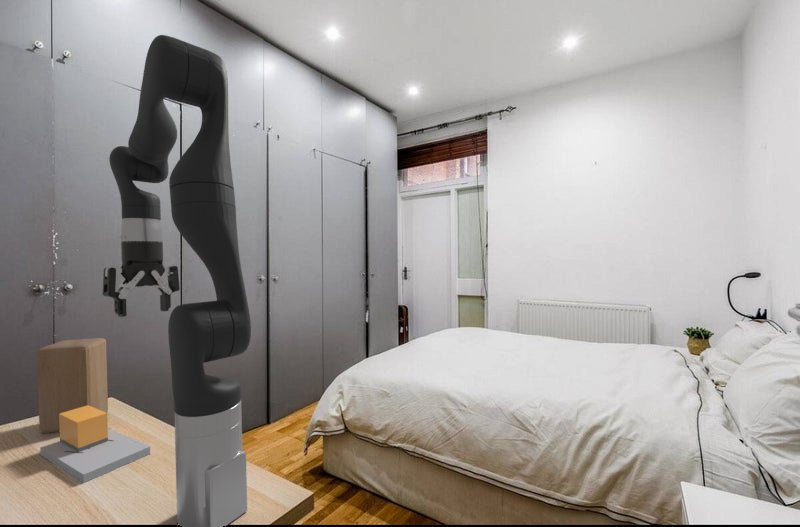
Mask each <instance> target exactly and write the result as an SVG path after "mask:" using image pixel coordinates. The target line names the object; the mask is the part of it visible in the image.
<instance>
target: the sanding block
mask: <svg viewBox="0 0 800 527" xmlns="http://www.w3.org/2000/svg"><path fill="white" fill-rule="evenodd" d="M59 426H60V431H59V441H60V442H62V443H63V444H65V445H67V446H69V447H70V448H72V449H74V450H76V451H77V452H80V451H83V450H85V449H88V448H91V447H93V446H96V445H99V444H101V443H104V442H107V441H108V428H109V427H108V412H107V413H106V412H103V411H101V410H98V409H96V408H94V407H91V406H89V405H87V406H84V407H80V408H77V409H73V410H70V411H67V412H63V413H60V414H59Z"/></svg>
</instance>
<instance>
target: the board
mask: <svg viewBox="0 0 800 527" xmlns="http://www.w3.org/2000/svg"><path fill="white" fill-rule="evenodd" d="M39 451H40V456H42V457H43V458H45V459H46V460H47V461H50V462H51V463H53V464H54V465H56V466H58V468H60V469H61V470H63V471H65V472H66V473H68V474H70V475H71V476H73V477H74V478H76V479H77V480H79V481H80V482H81V483H84V484H85V483H87V482H89V481H92V480H94V479H96V478H98V477H100V476H103V475H105V474H107V473H109V472H112V471H114V470H116V469H119V468H121V467H123V466H126V465H129V464H130V463H133V462H135V461H137V460H139V459H141V458H144V457H146V456H149V455H150V454H151V446H150V445H148V444H145V443H143V442H141V441H139V440H136V439H134V438H132V437H130V436H128V435H126V434H123V433H121V432H118V431H116V430H114V429H112V428H109V427H108V441H107V442H104V443H101V444H99V445H96V446H93V447H91V448H88V449H85V450H83V451H80V452H77V451H76V450H74V449H72V448H70V447H69V446H67V445H65V444H63V443H62V442H60V440H58V441H56V442H53V443H50V444H47V445H44V446H41V447H40V449H39Z"/></svg>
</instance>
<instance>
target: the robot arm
mask: <svg viewBox="0 0 800 527" xmlns="http://www.w3.org/2000/svg"><path fill="white" fill-rule="evenodd" d="M147 50H148V51H147V53H146V57H145V61H144V69H143V75H142V80H141V86H140V88H141V89H140V93H139V100H138V101H139V103H138V109H137V111H138V112H137V116H136V120H135V123H134V126H133V128H132V130H131V132H130V136H129V138H128V144H127V145H128V146H125V145H119V146H117V147H114V148H113V149H112V150H111V151H110V154H109V157H108V158H109V166H110V169H111V172H112V174H113V177H114V179H115V182H116V186H117V188H118V192H119V195H120V200H121V201H120V202H121V223H120V235H119V236H120V237H119V238H120V248H121V252H120V253H121V256H120V257H121V267H120V268H117V267H116V268H115V267H104V268H103V278H102V280H103V281H102V296H104V297H109V298H112V299H113V301H114V304H113V305H114V313H115V315H117V316H118V317H120V318H123V317H127V312H128V311H127V299H126V297H127V295H128V294H129V293H130V291H133V290H134V288H135V287H137V288H139V287H140V288H141V287H144V286H145V287H152V286H153V287H154V288H156V289H157V290H158V291H159V293H160V295H159V302H160V303H159V305H160V311H161V312H169V310H170V309H171V306H172V299H171V297H172V296H171V295H172V294H173V293H175V292H179V291H180V288H181V287H180V279H179V276H180V275H179V267H178V266H177V265H168V266H164V263H163V262H164V245H163V243H164V242H163V240H164V239H163V227H162V220H161V219H162V218H161V217H162V216H161V213H162V212H161V210H162V209H161V199H160V197H159V196H158V195H157V194H155V193H152V192H148V191H145V190H142V189H140V188H138V187H137V186H136V184H135V183H134V182H140V183H141V182H142V183H148V184H160V183H162V182H164V181H166V179H167V178H168V176H169V161H168V160H169V155H170V154H171V151H172V150H173V148H174V146H175V144H176V142H177V140H178V139H177V138H178V129H177V125H176V123H175V120H174V119H173V116H172V115H171V113H170V112H169V110H168V108H167V106H166V104H165V101H164V99H168V100H171V101H174V102H177V103H180V104H185V105H189V106H193V107H197V108H199V109H200V112H201V125H200V128H199V131H198V133H197V135H196V137H195V139H194V140H193V142H192V143H191V144H190V146H189V147H187V149H186V150H185V151H184V153H183V155H182V156H181V157H180V158H179V159H178V160H177V163H176V164H175V165H174V167H173V168H172V171H171V173H170V176H169V180H168V184H169V197H170V198H169V199H170V208H171V210H170V212H171V218H172V222H173V223H174V225H175V228H176V229H177V231H178V232H179V234H181V237H183V239H184V240H185V241H186V243H187V244H188V245H189V247H191V249H192V250H193V251H194V253H195V254H196V255H197V257H199V259H200V260H201V261H202V263H203V264H204V266H205V267H206V269H207V271H208V272H209V274H210V277H211V280H212V283H213V286H214V287H213V288H214V290H215V295H216V296H215V297H216V300H211V301H209V300H208V301H201V302H190V303H182V304H178V305H177V306H175V307H174V308H173V309H172V310H171V313H170V316H169V319H168V324H167V325H168V327H167V328H168V329H167V332H168V333H167V334H168V345H169V346H168V349H169V355H170V356H169V357H170V358H169V359H170V369H171V387H172V393H173V394H172V396H173V405H174V406H173V410H174V444H175V445H174V446H175V448H174V450H175V488H176V489H175V490H176V493H175V494H176V516H177V517H176V519H177V520H176V522H178V524H179V525H180V526H182V527H223V526H225V527H226V526H228V525H229V524H231V523H233V521H235V520H236V519H237V518H239V517H240V516H242V515H244V513H246V512H247V511H248V486H247V485H248V483H247V482H248V480H247V479H248V478H247V475H248V474H247V473H248V472H247V452H246V451H245V450H243V431H242V430H243V428H242V426H243V425H242V424H243V422H242V420H243V419H242V416H243V415H242V388H241V383H240V382H239V381H238V380H236V379H235V378H231V377H226V376H217V375H215V376H214V375H209V374H206V373H205V366H204V363H208V362H213V361H218V360H222V359H227V358H231V357H236V356H239V355H242V354H244V352H246V351H247V350H248V348H249V346H250V343H251V342H250V341H251V337H252V325H251V324H252V323H251V322H252V321H251V315H250V311H249V310H250V309H249V302H248V299H247V298H248V297H247V292H246V286H245V282H244V276H243V271H242V270H243V269H242V265H241V256H240V249H239V238H238V228H237V226H238V224H237V208H236V207H237V206H236V197H235V187H234V181H233V180H234V179H233V172H232V165H231V164H232V162H231V152H230V140H229V139H230V137H229V136H230V135H229V81H228V71H227V67H226V64H225V62H224V60H223V59H222V57H221V56H220V55H218V54H217V53H215V52H212V51H211V50H208V49H206V48H203V47H200V46H197V45H195V44H192V43H190V42H187V41H184V40H181V39H180V38H179V39H178V38H176V37H174V36H170V35H165V34H159V35H157V36H155V37H154V38H153V40H152V41H151V43H150V45H149V47H148V49H147ZM164 273H165V275H166V276H167V282H166V281H165V279H163V277H162V276H163V275H164ZM120 275H121V276H122V277H123V278H124V279H123V280H122V282H121V283H120V284H119V285H118V288H117V289H116V284H117V283H116V281H117V278H119V276H120ZM178 524H177V525H178Z"/></svg>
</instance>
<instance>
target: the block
mask: <svg viewBox="0 0 800 527" xmlns="http://www.w3.org/2000/svg"><path fill="white" fill-rule="evenodd" d="M107 357H108V356H107V340H106V338H103V337H97V338H95V337H94V338H81V339H80V338H79V339H63V340H61V341H57V342H55V343H52V344H48V345H46V346H44V347H40V348H39V349H38V350H37V352H36V360H37V361H36V362H37V364H36V366H37V388H38V390H37V391H38V392H37V393H38V399H37V400H38V420H39V421H38V423H39V424H38V425H39V426H38V427H39V429H38V430H39V432H40V434H48V433H49V434H51V433H58V432H59V433H60V426H59V414H60V413H63V412H67V411H70V410H73V409H77V408H80V407H84V406H87V405H89V406H91V407H94V408H96V409H98V410H101V411H103V412H106V413H107V414H108V411H109V403H108V402H109V400H108V394H109V393H108V366H107V364H108V363H107V362H108V361H107V360H108V359H107ZM50 432H51V433H50Z"/></svg>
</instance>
